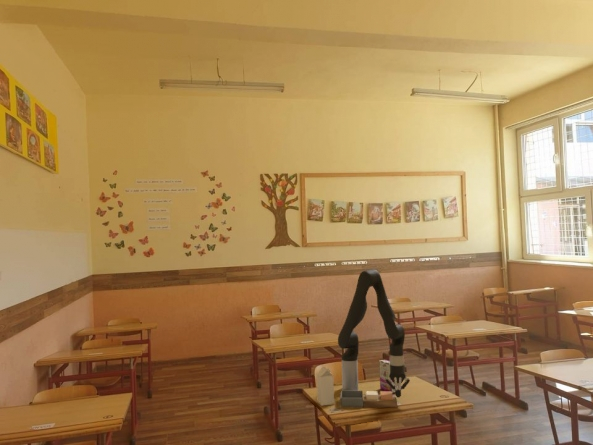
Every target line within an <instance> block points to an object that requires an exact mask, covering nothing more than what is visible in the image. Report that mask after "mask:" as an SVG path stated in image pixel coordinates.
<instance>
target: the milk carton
mask: <svg viewBox="0 0 593 445" xmlns="http://www.w3.org/2000/svg"><path fill="white" fill-rule="evenodd" d="M334 384H335V383H334V375H333V374H332V373H331V369H329V368H327V367H326V366H324V365H322V366H321V368H320V370H318V371H317V372H316V398H317V400H316V402H317V403H318V404H319V405H320V406H321V407H322V406H330V405H331V406H332V405H335V391H334Z"/></svg>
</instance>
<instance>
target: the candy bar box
mask: <svg viewBox="0 0 593 445" xmlns="http://www.w3.org/2000/svg"><path fill="white" fill-rule="evenodd" d="M378 364H379V366H378V367H379V389H380V390H382V391H392V394H395V389H392V388H391V387H390V385H389V384H388V383H387V382H386V378H388V377H389V375H390V360H387V359H381V360H380V359H379V363H378ZM390 382H391V383H392V385H393V386H395V384H394V383H393V381H392V380H391V379H390ZM397 388H398V383H397Z"/></svg>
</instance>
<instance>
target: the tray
mask: <svg viewBox="0 0 593 445" xmlns="http://www.w3.org/2000/svg"><path fill="white" fill-rule="evenodd" d="M363 394H364V393H363V390H359V389H358V390H343V389H342V390H340V399H339V400H340V408H362V409H363V408H364V402H363Z"/></svg>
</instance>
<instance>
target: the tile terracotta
mask: <svg viewBox="0 0 593 445" xmlns="http://www.w3.org/2000/svg"><path fill="white" fill-rule="evenodd" d="M379 394H380V397H381V400H393V395H394V394H393V393H392V391H384V390H382V391H379Z"/></svg>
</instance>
